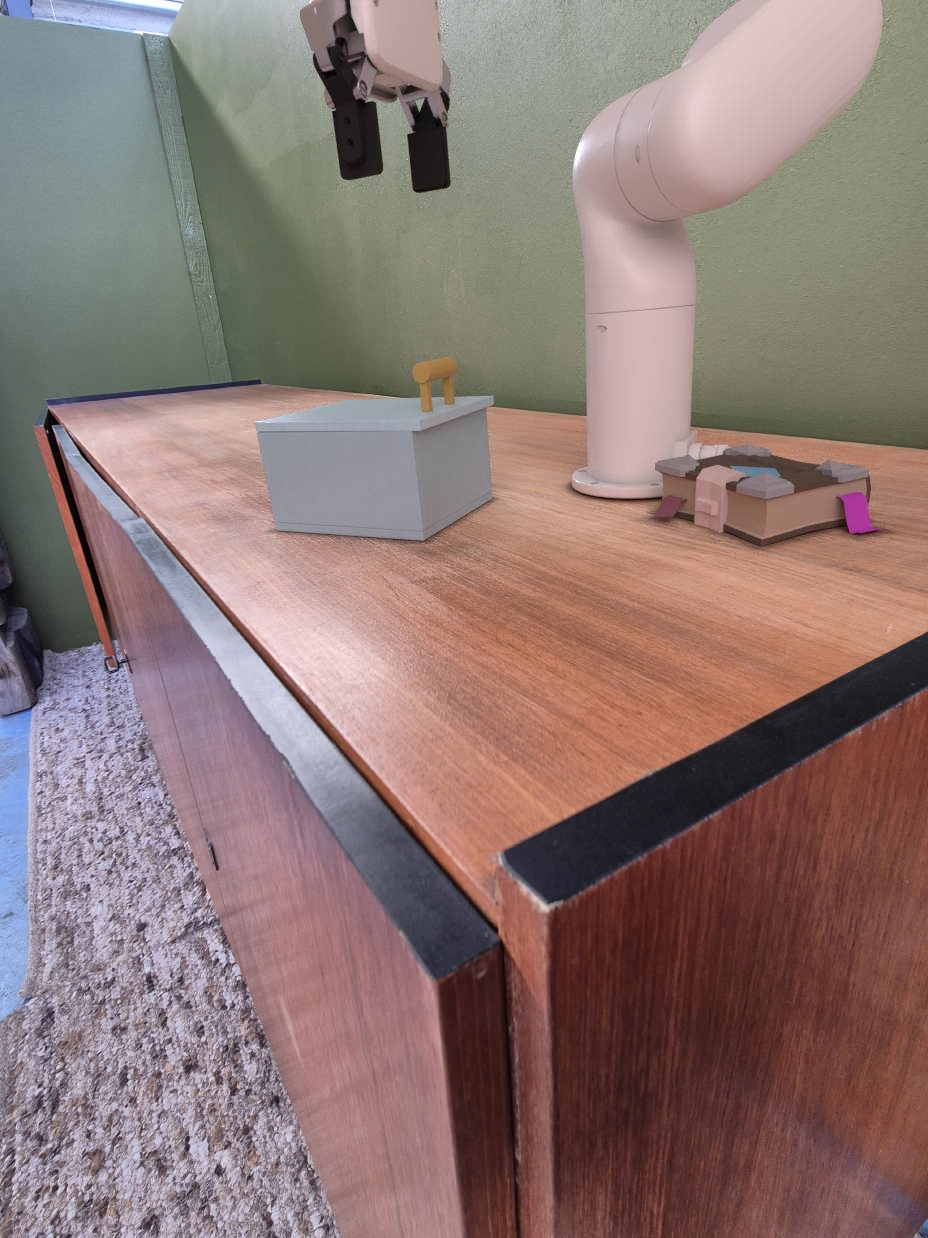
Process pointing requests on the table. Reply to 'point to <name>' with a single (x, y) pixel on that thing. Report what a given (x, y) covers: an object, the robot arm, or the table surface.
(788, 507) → the book
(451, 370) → the lid
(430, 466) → the chest
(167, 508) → the table surface
